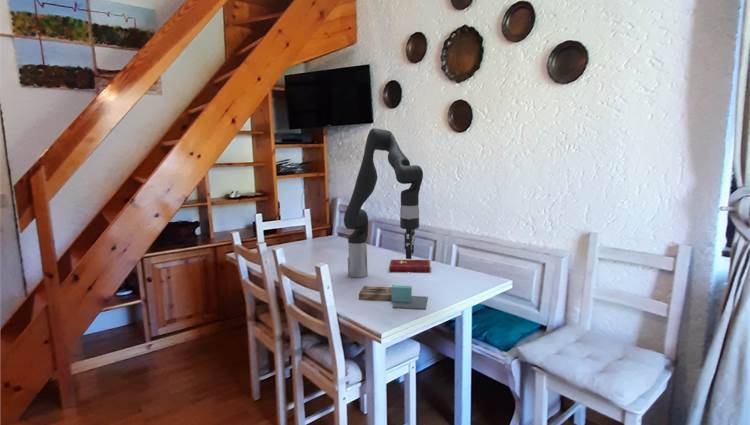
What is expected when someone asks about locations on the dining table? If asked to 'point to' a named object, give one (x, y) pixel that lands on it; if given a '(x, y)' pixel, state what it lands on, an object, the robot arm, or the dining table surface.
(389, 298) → the brown wooden frame
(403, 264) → the hardcover book
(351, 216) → the robot arm
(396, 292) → the teal rectangular prism
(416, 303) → the mat
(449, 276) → the dining table surface
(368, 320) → the dining table surface
